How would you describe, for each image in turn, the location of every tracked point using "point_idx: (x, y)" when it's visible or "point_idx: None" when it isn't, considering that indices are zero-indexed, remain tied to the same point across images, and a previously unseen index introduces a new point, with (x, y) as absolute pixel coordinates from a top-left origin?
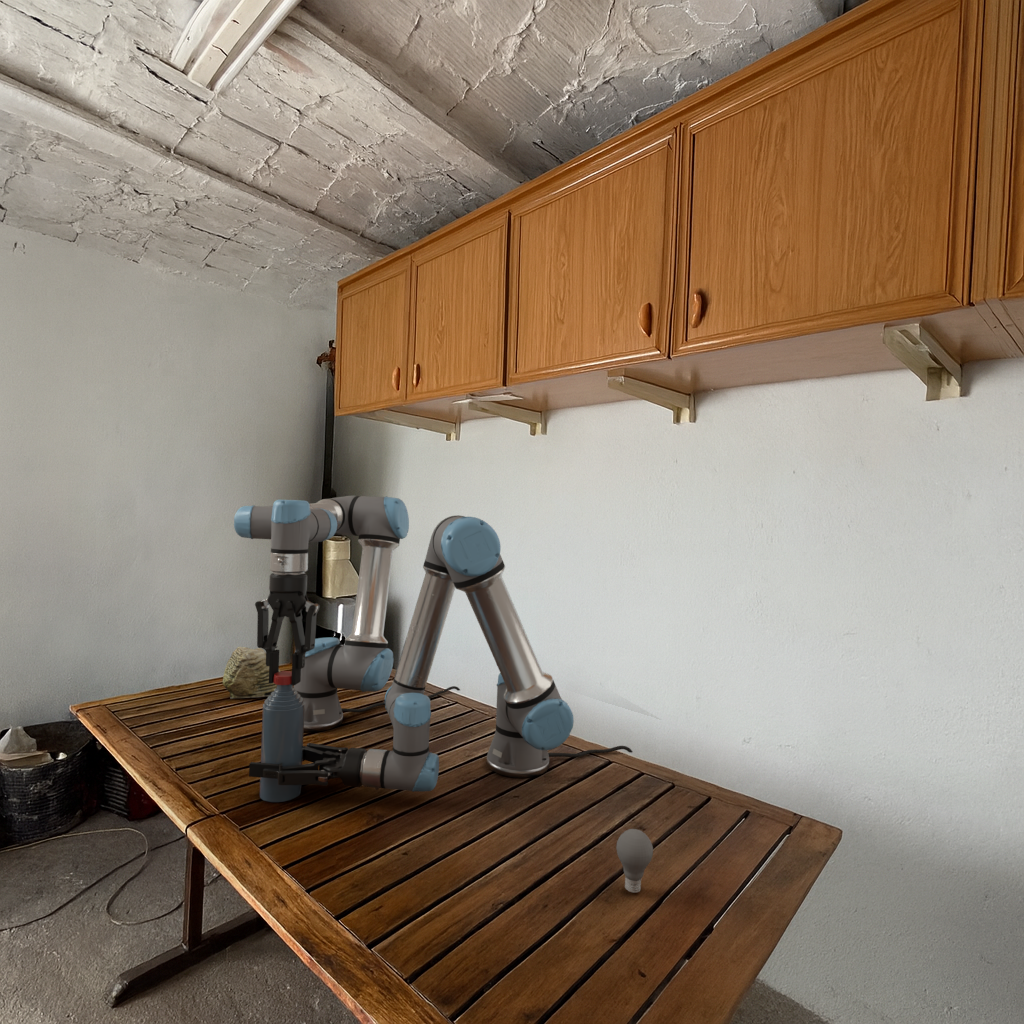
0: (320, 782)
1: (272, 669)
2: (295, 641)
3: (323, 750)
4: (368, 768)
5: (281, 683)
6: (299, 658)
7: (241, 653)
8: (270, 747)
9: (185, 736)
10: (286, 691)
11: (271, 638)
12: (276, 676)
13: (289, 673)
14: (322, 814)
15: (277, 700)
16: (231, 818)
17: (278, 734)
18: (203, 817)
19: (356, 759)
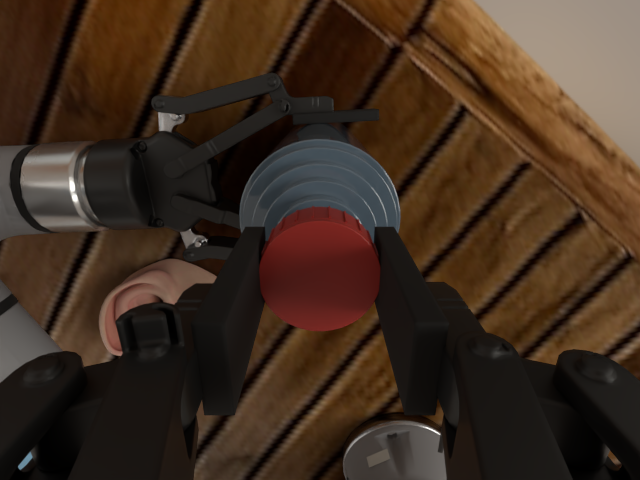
0: (177, 96)
1: (388, 257)
2: (151, 432)
3: None
4: (63, 147)
5: (310, 210)
6: (186, 324)
7: None
8: (327, 127)
9: (624, 355)
10: None
11: (501, 446)
12: (345, 225)
13: (300, 293)
14: (189, 89)
15: (321, 175)
16: (366, 28)
17: (302, 132)
18: (427, 19)
19: (93, 160)
